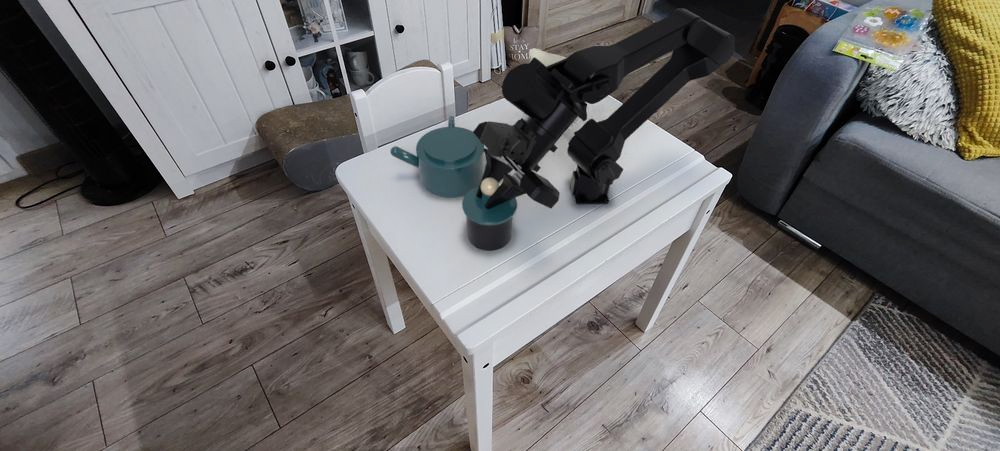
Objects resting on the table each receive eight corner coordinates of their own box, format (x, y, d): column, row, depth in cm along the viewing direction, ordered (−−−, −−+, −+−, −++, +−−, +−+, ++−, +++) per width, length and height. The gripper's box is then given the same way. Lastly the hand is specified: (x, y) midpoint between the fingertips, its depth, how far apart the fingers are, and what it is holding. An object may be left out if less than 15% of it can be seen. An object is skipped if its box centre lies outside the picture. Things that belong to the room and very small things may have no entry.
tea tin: (510, 217, 85) (511, 189, 80) (513, 250, 80) (514, 223, 74) (467, 218, 85) (465, 190, 79) (467, 251, 79) (465, 224, 74)
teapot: (483, 143, 99) (483, 112, 94) (485, 196, 88) (485, 165, 82) (400, 145, 99) (394, 113, 93) (391, 198, 88) (384, 166, 82)
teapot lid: (515, 186, 80) (516, 160, 76) (519, 225, 74) (520, 199, 70) (462, 187, 80) (461, 161, 75) (462, 226, 73) (460, 200, 69)
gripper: (482, 75, 70) (424, 154, 74) (551, 141, 59) (477, 228, 64) (523, 106, 79) (468, 175, 83) (589, 168, 68) (522, 244, 72)
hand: (482, 202), depth 75 cm, fingers closed on teapot lid, 3 cm apart
